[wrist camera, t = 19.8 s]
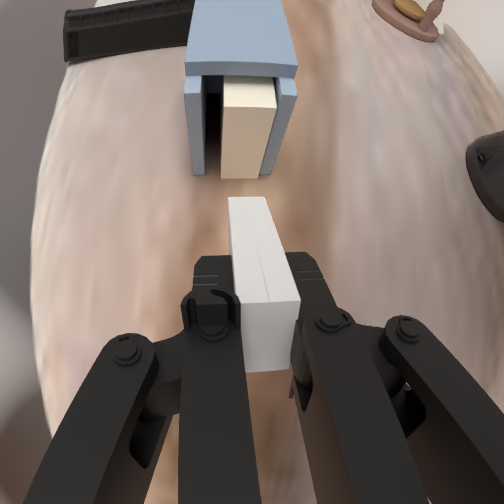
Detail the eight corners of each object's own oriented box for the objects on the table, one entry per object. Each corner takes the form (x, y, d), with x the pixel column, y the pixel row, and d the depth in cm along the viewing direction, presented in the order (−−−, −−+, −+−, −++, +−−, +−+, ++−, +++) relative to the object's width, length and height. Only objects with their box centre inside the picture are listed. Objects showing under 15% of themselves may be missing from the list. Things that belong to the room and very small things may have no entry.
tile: (257, 179, 33) (276, 108, 21) (220, 179, 32) (223, 106, 21) (251, 93, 36) (263, 21, 24) (220, 93, 36) (224, 20, 24)
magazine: (36, 34, 26) (235, -53, 21) (43, 23, 27) (234, -59, 22) (92, 92, 42) (260, 38, 38) (95, 80, 43) (257, 28, 38)
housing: (270, 174, 33) (302, 82, 19) (193, 175, 32) (182, 79, 18) (261, 86, 36) (280, -2, 22) (198, 85, 35) (196, -5, 21)
